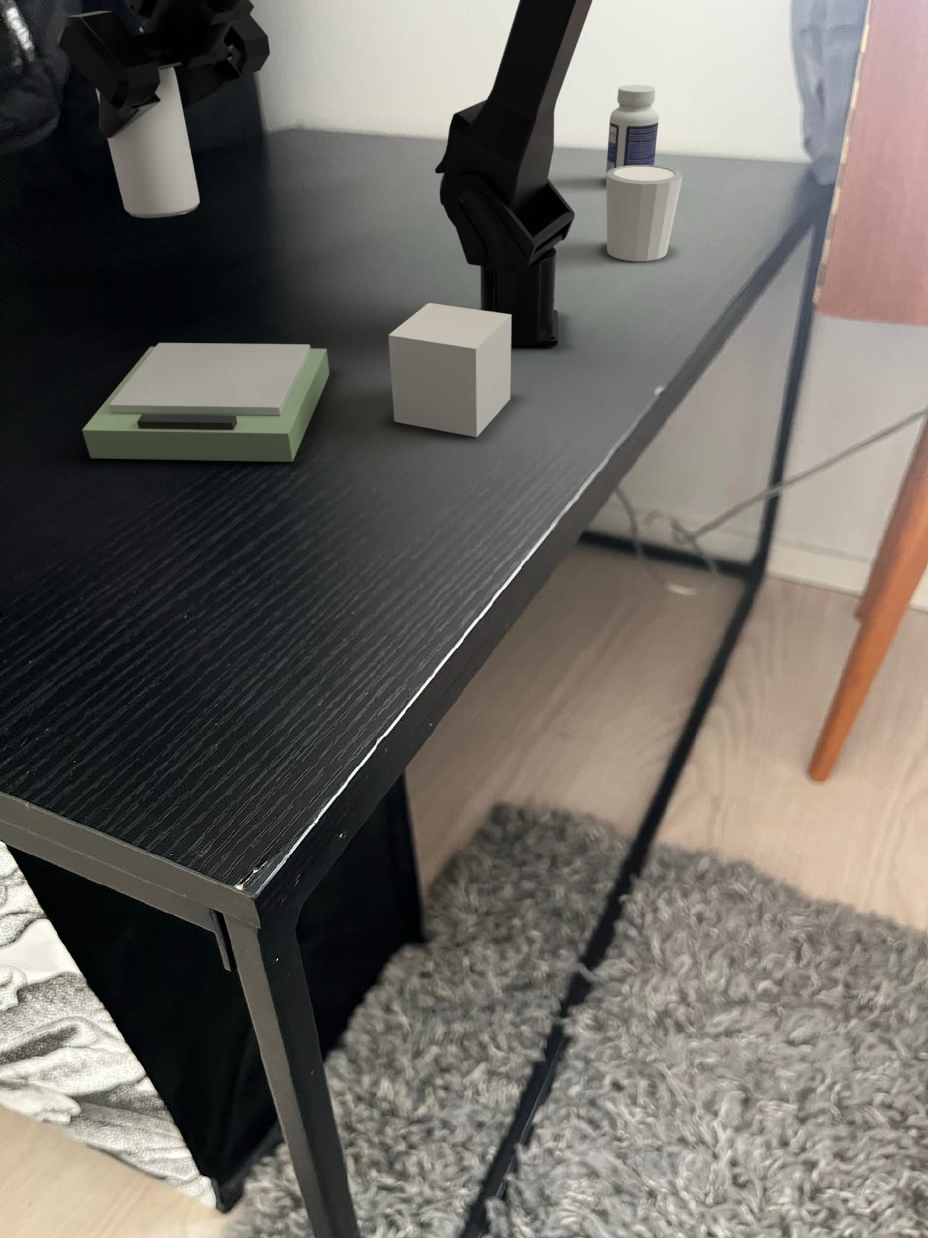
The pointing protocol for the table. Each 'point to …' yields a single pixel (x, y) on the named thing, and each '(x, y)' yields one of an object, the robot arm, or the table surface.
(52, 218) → the table surface
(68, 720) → the table surface
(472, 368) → the white cube
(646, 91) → the pill bottle
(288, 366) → the scale
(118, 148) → the can
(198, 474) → the table surface
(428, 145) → the table surface
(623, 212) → the white cup
